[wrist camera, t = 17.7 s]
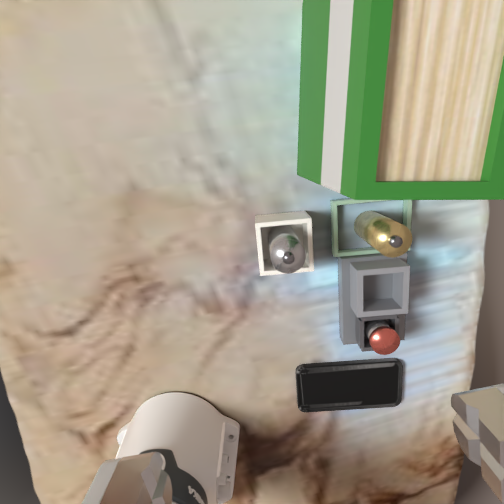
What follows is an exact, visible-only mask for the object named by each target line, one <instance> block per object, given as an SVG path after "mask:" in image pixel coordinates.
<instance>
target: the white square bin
mask: <svg viewBox="0 0 504 504" xmlns="http://www.w3.org/2000/svg"><path fill="white" fill-rule="evenodd" d="M280 225H289V226H290V227H292V228H293V229H294V231H295V233H296V234H297V236H298V238H299V240H300V242H301V244H302V246H303V248H304V250H305V253H306V259H305V262H304V264H303V266H302V267H301V268H300V269H299V270H298V271H296V272H294V273H299V272H310V271H314V260H313V240H312V219H311V217H310V216H309V215H308V214H307V213H306V211H297V212H287V213H276V214H266V215H256V216H255V227H256V237H257V247H258V257H259V268H260V276H265V275H276V274H287V273H282V272H280V271H278V270H276V269H275V268H274V266H273V265H272V263H271V258H270V251H269V244H268V234H269V232H270V230H271V229H272V228H273V227H274V226H280Z"/></svg>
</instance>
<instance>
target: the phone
mask: <svg viewBox="0 0 504 504" xmlns="http://www.w3.org/2000/svg"><path fill="white" fill-rule="evenodd" d="M402 374H403V366H402V364H401V362H400V361H399V360H398V359H396V358H383V359H369V360H354V361H340V362H325V363H311V364H301V365H299V366H298V367H297V368H296V386H297V402H298V408H299V409H300V410H301V411H302V412H318V411H334V410H350V409H366V408H382V407H395V406H397V405H399V404H400V402H401V396H402Z"/></svg>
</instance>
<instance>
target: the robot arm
mask: <svg viewBox="0 0 504 504" xmlns="http://www.w3.org/2000/svg"><path fill="white" fill-rule="evenodd" d="M451 405H452V407H453V409H454V410H455V411H456V412H457V414H456V416H455V417H454V419H453V426H454V432H455V435H456V437H457V440H458V443H459V444H460V446H461V448H462V450H463V451H464V453H465V454H466V456H467V457H468V458H469V460H471V461H473V462H474V463H476V464H478V465H480V466H481V472H482V477H483V479H484V480H485V481H486V483H487V484H488V485H489V487H490V488H491V489H492V490H493V492H494V493H495V495H496V496H497V497H498V499H499V500H500V501H501V503H504V383H503V384H499V385H494V386H491V387H485V388H480V389H475V390H470V391H465V392H460V393H455V394H453V395H452V397H451ZM239 433H240V425H239V423H238V422H236V421H235V420H233V419H231V418H228V417H226V416H224V415H222V414H221V413H220V412H218V411H217V410H216V409H215V408H214V407H213V406H212V405H211V404H210V403H208V402H207V401H205V400H203V399H201V398H199V397H197V396H194V395H191V394H186V393H178V392H172V393H164V394H160V395H157V396H154V397H152V398H150V399H148V400H147V401H145V402H144V403H143V404H142V405H141V406H140V407H139V408H138V410H137V411H136V413H135V415H134V417H133V419H132V420H131V421H130V422H129V423H128V424H126V425H125V426H124V427H122V428H121V429H120V430H119V433H118V435H117V441H118V443H119V445H120V447H119V450H118V453H117V455H116V458H115V459H111V460H106V461H105V462H104V463H102V464H101V466H100V468H99V470H98V472H97V474H96V476H95V478H94V480H93V482H92V484H91V486H90V488H89V490H88V492H87V494H86V496H85V498H84V500H83V502H82V504H223V503H225V502H227V501H228V500H230V499H231V498H232V495H233V490H234V481H235V471H236V462H237V452H238V442H239Z"/></svg>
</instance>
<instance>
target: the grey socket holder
mask: <svg viewBox="0 0 504 504" xmlns="http://www.w3.org/2000/svg"><path fill="white" fill-rule="evenodd" d="M409 280H410V266H409V265H408V264H407V253H404V254H403V255H401V256H399V257H394V258H391V257H386V256H384V255H383V254H381V253H375V254H364V255H353V256H342V257H338V287H339V325H340V338H341V340H342V342H343V345H345V344H358V345H359V347H360V348H361V350H362V351H374V350H373V349H372V347H371V345H370V343H369V339H368V337H367V336H366V334H365V332H364V326H365V324H366V323H367V322H368V321H371V320H385V321H386V323H387V324H388V325H389V326H390V327H391V328H393V329H394V330H395V331H396V333H397V334H398V335H399V337H400V340H404V332H405V314H407V313H408V306H409Z"/></svg>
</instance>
